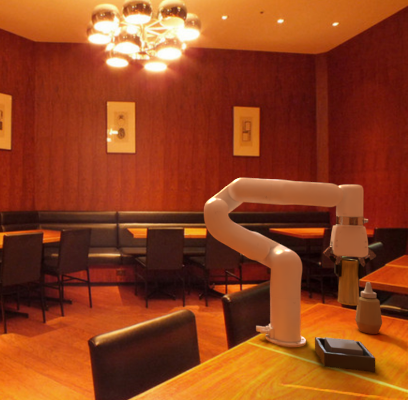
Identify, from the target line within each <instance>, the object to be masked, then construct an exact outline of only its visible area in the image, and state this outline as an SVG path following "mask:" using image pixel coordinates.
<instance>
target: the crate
mask: <svg viewBox="0 0 408 400" xmlns="http://www.w3.org/2000/svg"><path fill="white" fill-rule="evenodd" d="M325 338H326V337H314V351H315V353H316V355H317V356H318V358H319V360H320V362H321V363H322V365H323V367H324V368H332V369H340V370H348V371H349V370H350V371H357V372H358V371H359V372H365V373H374V374H376V357H375V356H374V355H373V353H372V352H371V351H369V349H368V347H366V346H365V345H364V344H363V343H362V341H358V340H354V341H355V342H356V343H357V344H358V345H359V346H360V348H361V349H362V350H363V356H359V355H350V354H340V353H330V352H326V350H325Z"/></svg>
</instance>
